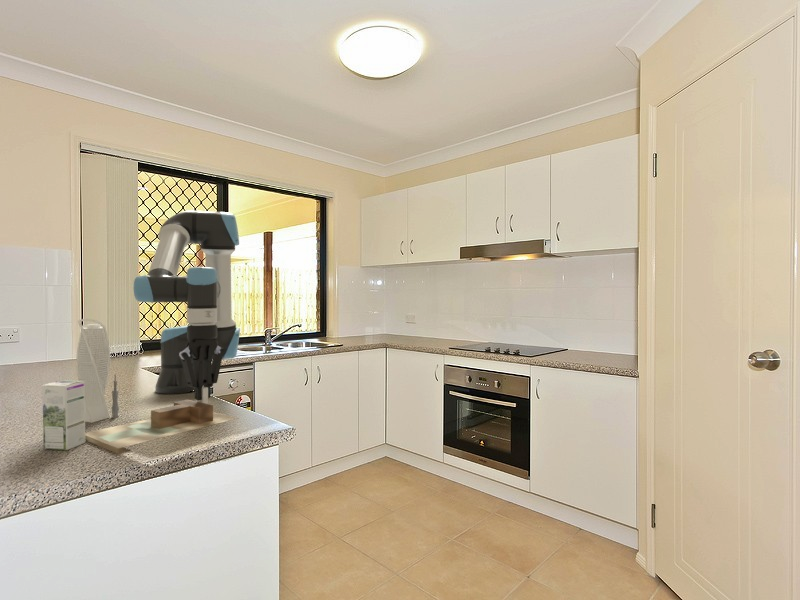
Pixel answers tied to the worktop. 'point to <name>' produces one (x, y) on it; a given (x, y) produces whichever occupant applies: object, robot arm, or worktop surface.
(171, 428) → the board
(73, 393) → the syrup box
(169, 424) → the t block
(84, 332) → the skyscraper
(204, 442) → the worktop surface
